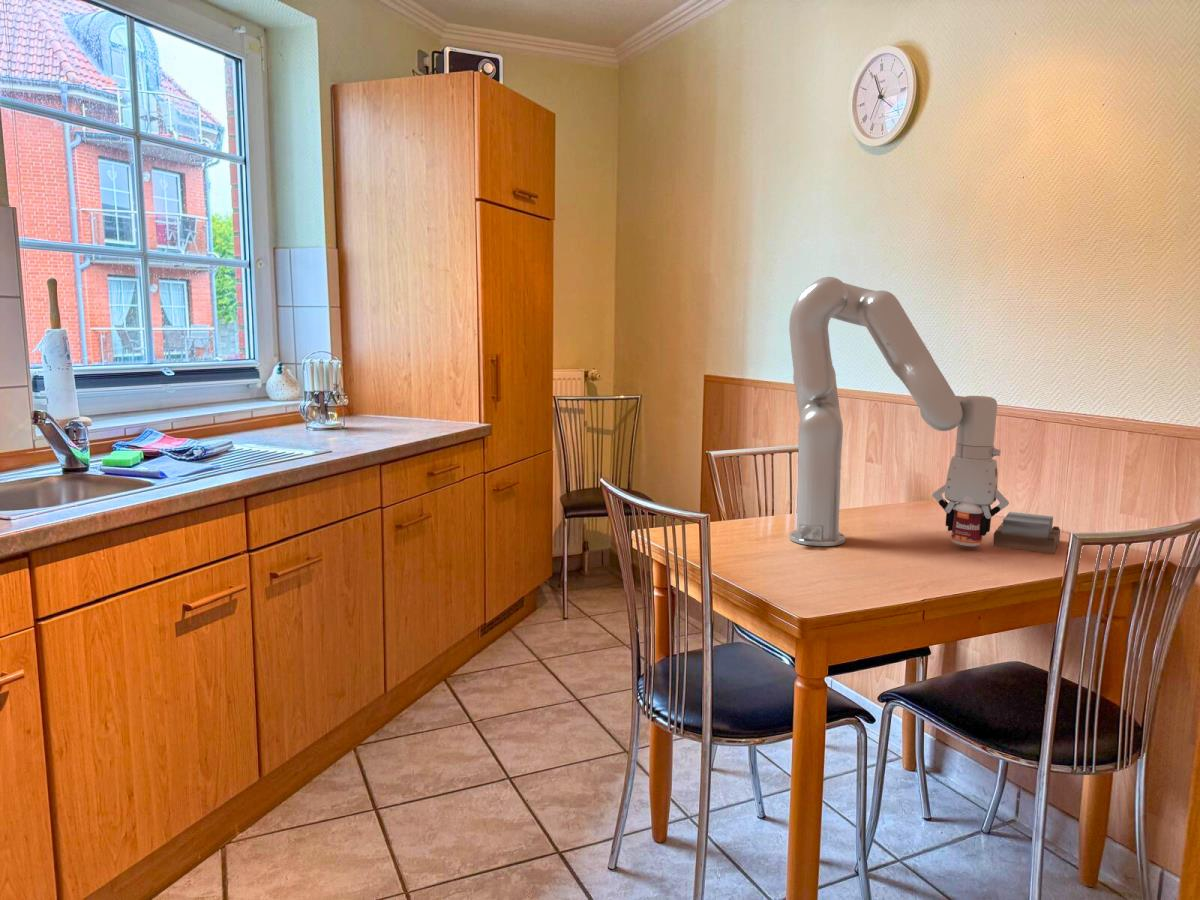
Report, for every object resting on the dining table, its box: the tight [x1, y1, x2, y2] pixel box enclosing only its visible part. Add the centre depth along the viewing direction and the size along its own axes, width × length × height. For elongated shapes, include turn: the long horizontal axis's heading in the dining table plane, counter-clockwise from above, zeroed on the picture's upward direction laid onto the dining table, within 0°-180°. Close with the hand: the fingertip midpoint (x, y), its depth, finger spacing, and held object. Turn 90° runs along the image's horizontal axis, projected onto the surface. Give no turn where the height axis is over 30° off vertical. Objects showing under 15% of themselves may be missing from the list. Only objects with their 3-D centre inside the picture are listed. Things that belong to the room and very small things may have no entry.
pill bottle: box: [950, 496, 984, 547], centre depth 181 cm, size 6×6×11 cm
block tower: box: [992, 511, 1061, 555], centre depth 185 cm, size 12×12×6 cm
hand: (967, 531), depth 182 cm, fingers closed on pill bottle, 6 cm apart
